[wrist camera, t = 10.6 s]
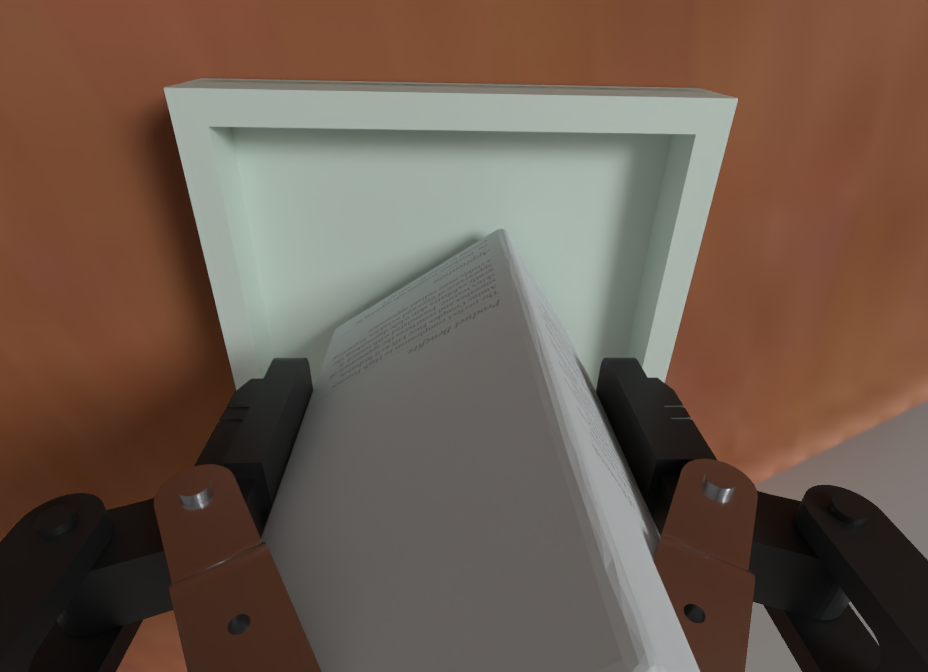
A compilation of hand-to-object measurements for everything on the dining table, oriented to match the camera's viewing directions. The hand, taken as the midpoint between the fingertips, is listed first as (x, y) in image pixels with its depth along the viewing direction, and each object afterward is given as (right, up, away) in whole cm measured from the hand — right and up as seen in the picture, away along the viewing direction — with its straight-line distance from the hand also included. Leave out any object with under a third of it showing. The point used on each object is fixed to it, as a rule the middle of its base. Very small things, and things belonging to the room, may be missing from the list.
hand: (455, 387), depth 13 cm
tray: (0, +2, +4) cm, 5 cm away
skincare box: (0, +2, +3) cm, 4 cm away
